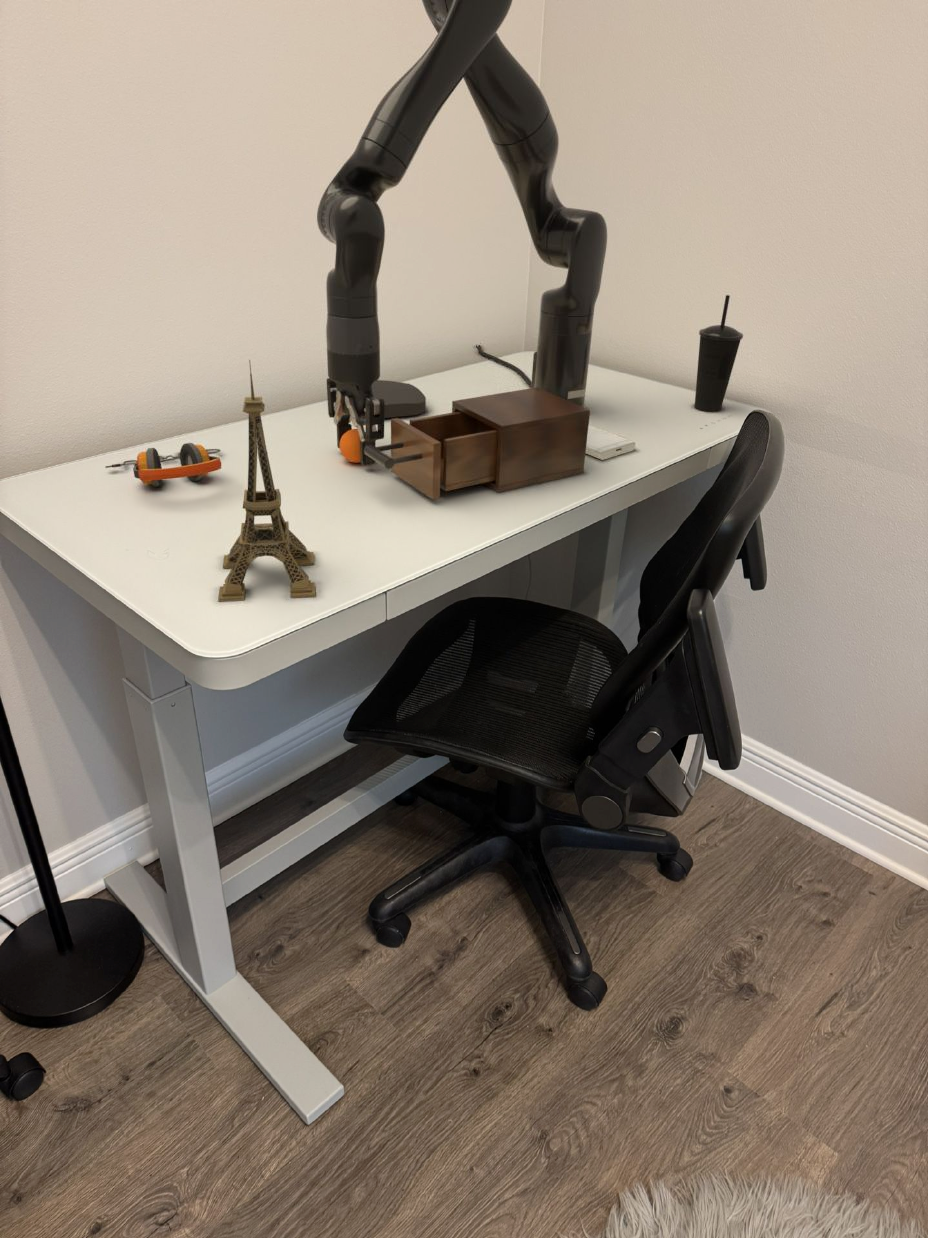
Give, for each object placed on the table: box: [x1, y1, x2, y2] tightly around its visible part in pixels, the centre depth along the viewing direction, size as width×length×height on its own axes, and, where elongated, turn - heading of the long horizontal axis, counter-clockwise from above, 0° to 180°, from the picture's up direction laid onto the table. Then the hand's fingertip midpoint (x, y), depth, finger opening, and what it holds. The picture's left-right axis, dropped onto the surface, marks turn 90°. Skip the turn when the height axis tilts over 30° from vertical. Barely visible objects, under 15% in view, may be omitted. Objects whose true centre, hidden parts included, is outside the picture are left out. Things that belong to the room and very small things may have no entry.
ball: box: [339, 428, 366, 464], centre depth 135 cm, size 5×5×5 cm
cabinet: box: [451, 387, 591, 493], centre depth 133 cm, size 16×13×10 cm
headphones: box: [104, 442, 222, 487], centre depth 126 cm, size 17×5×20 cm
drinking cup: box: [694, 294, 744, 413], centre depth 161 cm, size 8×8×20 cm
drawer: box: [364, 411, 498, 500], centre depth 126 cm, size 20×12×8 cm, turn 123°
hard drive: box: [585, 424, 636, 461], centre depth 146 cm, size 2×8×12 cm
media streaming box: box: [334, 379, 427, 419], centre depth 159 cm, size 15×15×3 cm
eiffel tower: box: [217, 359, 316, 602], centre depth 97 cm, size 11×11×25 cm
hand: (356, 455), depth 136 cm, fingers open, 7 cm apart
